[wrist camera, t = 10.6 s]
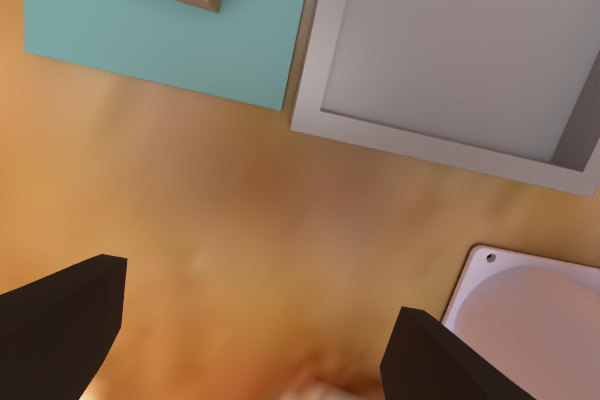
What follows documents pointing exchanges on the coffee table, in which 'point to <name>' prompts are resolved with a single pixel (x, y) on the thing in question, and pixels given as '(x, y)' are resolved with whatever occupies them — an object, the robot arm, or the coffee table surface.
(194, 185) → the coffee table surface
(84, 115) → the coffee table surface
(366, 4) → the parts bin
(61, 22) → the teal board
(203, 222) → the coffee table surface
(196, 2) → the maple block
